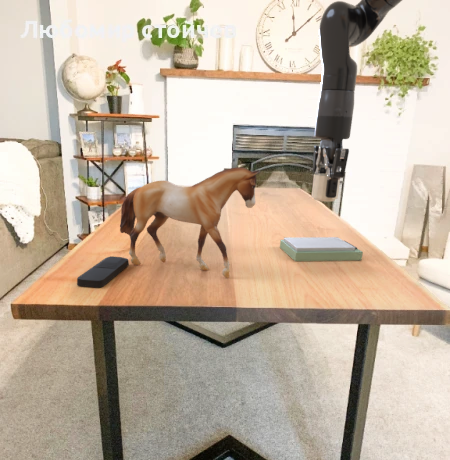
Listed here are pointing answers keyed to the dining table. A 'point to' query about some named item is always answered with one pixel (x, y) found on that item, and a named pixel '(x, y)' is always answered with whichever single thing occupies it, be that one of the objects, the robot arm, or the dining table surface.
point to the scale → (319, 249)
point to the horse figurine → (186, 208)
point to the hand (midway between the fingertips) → (324, 194)
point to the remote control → (102, 272)
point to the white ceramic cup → (322, 188)
